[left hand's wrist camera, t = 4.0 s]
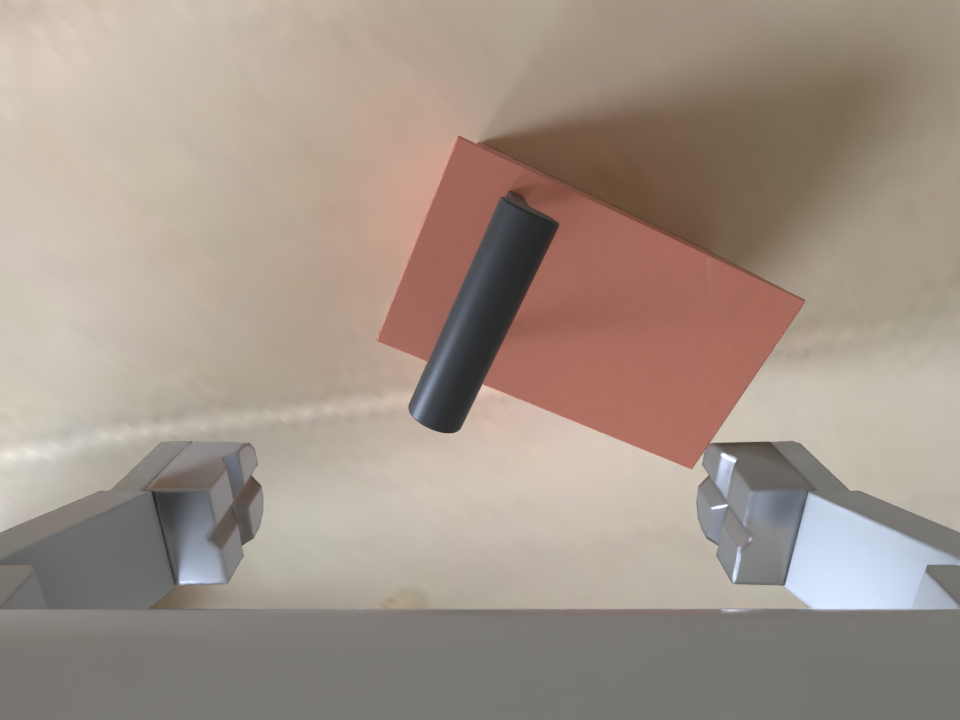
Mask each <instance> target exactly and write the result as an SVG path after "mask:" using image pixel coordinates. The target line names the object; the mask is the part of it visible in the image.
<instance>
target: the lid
mask: <svg viewBox="0 0 960 720" xmlns="http://www.w3.org/2000/svg"><path fill="white" fill-rule="evenodd" d="M804 303H805V300H804V299H802V298H800V297H798V296H796V295H794V294H792V293H790V292H788V291H786V290H783V289H781V288H779V287H777V286H775V285H773V284H771V283H769V282H767V281H764V280H762V279H760V278H758V277H756V276H754V275H752V274H750V273H748V272H745V271H743V270H741V269H739V268H737V267H735V266H733V265H731V264H729V263H726V262H724V261H722V260H720V259H718V258H716V257H714V256H712V255H710V254H707V253H705V252H703V251H701V250H699V249H697V248H695V247H693V246H691V245H688V244H686V243H684V242H682V241H680V240H678V239H676V238H674V237H672V236H670V235H667V234H665V233H663V232H661V231H659V230H657V229H655V228H653V227H651V226H648V225H646V224H644V223H642V222H640V221H638V220H636V219H634V218H632V217H629V216H627V215H625V214H623V213H621V212H619V211H617V210H615V209H613V208H610V207H608V206H606V205H604V204H602V203H600V202H598V201H596V200H594V199H591V198H589V197H587V196H585V195H583V194H581V193H579V192H577V191H575V190H572V189H570V188H568V187H566V186H564V185H562V184H560V183H558V182H556V181H554V180H551V179H549V178H547V177H545V176H543V175H541V174H539V173H537V172H535V171H532V170H530V169H528V168H526V167H524V166H522V165H520V164H518V163H516V162H513V161H511V160H509V159H507V158H505V157H503V156H501V155H499V154H497V153H494V152H492V151H490V150H488V149H486V148H484V147H482V146H480V145H478V144H475V143H473V142H471V141H469V140H467V139H465V138H463V137H461V136H458V137H457V139H456V142H455V144H454V147H453V149H452V152H451V154H450V157H449V159H448V162H447V164H446V167H445V169H444V172H443V174H442V177H441V179H440V182H439V184H438V187H437V189H436V192H435V194H434V197H433V199H432V202H431V204H430V207H429V209H428V212H427V214H426V217H425V219H424V222H423V224H422V227H421V229H420V232H419V234H418V237H417V239H416V242H415V244H414V247H413V249H412V252H411V254H410V257H409V259H408V262H407V264H406V267H405V269H404V272H403V274H402V277H401V279H400V282H399V284H398V287H397V289H396V292H395V294H394V297H393V299H392V302H391V304H390V307H389V309H388V312H387V314H386V317H385V319H384V322H383V324H382V327H381V329H380V332H379V334H378V337H377V341H378V342H380V343H383V344H385V345H388V346H390V347H393V348H395V349H398V350H400V351H403V352H405V353H407V354H410V355H412V356H415V357H417V358H420V359H422V360H425V361H427V365H426V367H425V369H424V371H423V374H422V376H421V378H420V380H419V383H418V385H417V387H416V390H415V392H414V394H413V396H412V399H411V401H410V403H409V412H410V414H411V415H412V416H413V417H414V419H416V420H417V421H418V422H419V423H421V424H422V425H424V426H425V427H427V428H429V429H432V430H434V431H438V432H442V433H455V432H457V431H459V430H460V429H461V427H462V425H463V423H464V421H465V419H466V417H467V415H468V413H469V410H470V408H471V406H472V404H473V402H474V400H475V398H476V396H477V394H478V392H479V390H480V388H481V386H482V384H484V385H486V386H488V387H491V388H493V389H496V390H498V391H501V392H503V393H506V394H508V395H511V396H513V397H515V398H518V399H520V400H523V401H525V402H528V403H530V404H533V405H535V406H538V407H540V408H542V409H545V410H547V411H550V412H552V413H555V414H557V415H560V416H562V417H565V418H567V419H569V420H572V421H574V422H577V423H579V424H582V425H584V426H587V427H589V428H592V429H594V430H596V431H599V432H601V433H604V434H606V435H609V436H611V437H614V438H616V439H619V440H621V441H623V442H626V443H628V444H631V445H633V446H636V447H638V448H641V449H643V450H646V451H648V452H650V453H653V454H655V455H658V456H660V457H663V458H665V459H668V460H670V461H673V462H675V463H677V464H680V465H682V466H685V467H687V468H690V469H692V468H693V467H694V465H695V464H696V462H697V461H698V459H699V458H700V457H701V455H702V454H703V452H704V451H705V449H706V447H707V445H708V444H709V443H710V442H711V440H712V439H713V437H714V436H715V434H716V433H717V431H718V430H719V428H720V427H721V425H722V424H723V422H724V421H725V420H726V418H727V417H728V415H729V414H730V412H731V411H732V409H733V408H734V406H735V405H736V403H737V402H738V400H739V399H740V397H741V396H742V394H743V393H744V391H745V390H746V388H747V387H748V385H749V384H750V382H751V381H752V380H753V378H754V377H755V375H756V374H757V372H758V371H759V369H760V368H761V366H762V365H763V363H764V362H765V360H766V359H767V357H768V356H769V354H770V353H771V351H772V350H773V348H774V347H775V345H776V344H777V343H778V341H779V340H780V338H781V337H782V335H783V334H784V332H785V331H786V329H787V328H788V326H789V325H790V323H791V322H792V320H793V319H794V317H795V316H796V314H797V313H798V311H799V310H800V308H801V307H802V306H803V304H804Z"/></svg>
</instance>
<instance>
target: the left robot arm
mask: <svg viewBox="0 0 960 720" xmlns="http://www.w3.org/2000/svg"><path fill="white" fill-rule="evenodd" d="M257 465H258V463H257V458H256V453H255V448H254V447H253V446H252V445H251V444H250V443H240V442H192V441H175V442H162V443H160V444H159V445H158V446H157V447H156V448H155V449H153V450H152V451H151V452H150V453H149V454H148V455H147V456H146V457H145V458H144V459H143V460H142V461H141V462H140V463H139V464H138V465H137V466H136V467H134V468H133V469H132V470H131V471H130V472H129V473H128V474H127V475H126V476H125V477H124V478H123V479H122V480H121V481H120V482H119V483H118V484H117V485H115V486H114V487H113V488H112V489H111V490H110V491H99V492H97V493H94V494H92V495H89V496H87V497H85V498H82V499H80V500H77V501H75V502H73V503H70V504H68V505H65V506H63V507H61V508H58V509H56V510H53V511H51V512H49V513H46V514H44V515H41V516H39V517H37V518H34V519H32V520H29V521H27V522H25V523H22V524H20V525H17V526H15V527H13V528H10V529H8V530H5V531H3V532H1V533H0V720H960V533H959V532H957V531H954V530H952V529H949V528H947V527H945V526H942V525H940V524H938V523H935V522H933V521H930V520H928V519H926V518H923V517H921V516H918V515H916V514H914V513H911V512H909V511H906V510H904V509H902V508H899V507H897V506H894V505H892V504H890V503H887V502H885V501H882V500H880V499H878V498H875V497H873V496H871V495H868V494H866V493H863V492H861V491H850V490H849V489H848V488H847V487H846V486H845V485H844V484H842V483H841V482H840V481H839V480H838V479H837V478H836V477H835V476H834V475H833V474H832V473H831V472H830V471H829V470H828V469H827V468H826V467H825V466H824V465H822V464H821V463H820V462H819V461H818V460H817V459H816V458H815V457H814V456H813V455H812V454H811V453H810V452H809V451H808V450H807V449H806V448H805V447H804V446H802V445H801V444H800V443H798V442H794V441H780V442H735V443H711V444H708V445H707V447H706V450H705V452H704V457H703V462H702V465H703V467H704V468H705V470H706V471H707V473H708V475H709V476H708V477H707V478H706V479H705V480H704V481H703V482H702V483H701V484H700V485H699V486H698V494H697V502H696V503H697V514H698V520H699V523H700V526H701V529H702V531H703V533H704V535H705V536H706V538H707V539H708V540H710V541H712V542H713V543H715V544H716V545H718V550H717V558H718V560H719V561H720V563H721V565H722V567H723V568H724V570H725V572H726V574H727V575H728V577H729V579H730V581H731V582H732V584H750V585H785V587H784V588H786V589H787V590H788V591H789V592H791V593H792V594H793V595H795V596H796V597H797V598H799V599H800V600H801V601H803V602H804V603H805V604H807V605H808V606H809V607H811V608H812V609H148V608H150V607H151V606H152V605H154V604H155V603H156V602H158V601H159V600H160V599H162V598H163V597H164V596H165V595H167V594H168V593H169V592H171V591H172V590H173V589H175V585H209V584H228V582H229V581H230V579H231V577H232V575H233V574H234V572H235V570H236V568H237V567H238V565H239V563H240V561H241V560H242V558H243V556H244V555H243V550H242V545H244V544H245V543H247V542H248V541H250V540H252V539H253V538H254V536H255V535H256V533H257V531H258V529H259V527H260V523H261V518H262V514H263V493H262V486H261V485H260V484H259V483H258V482H257V481H256V480H255V479H254V478H253V477H252V476H251V475H252V473H253V471H254V470H255V468H256V467H257Z"/></svg>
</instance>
